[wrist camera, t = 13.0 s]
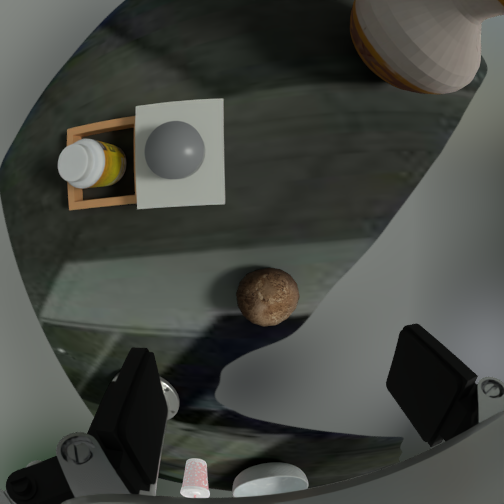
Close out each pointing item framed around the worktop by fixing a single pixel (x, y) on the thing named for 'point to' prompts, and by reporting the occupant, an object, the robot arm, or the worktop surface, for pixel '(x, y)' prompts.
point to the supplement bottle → (91, 164)
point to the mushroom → (267, 296)
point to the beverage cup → (195, 479)
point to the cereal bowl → (269, 480)
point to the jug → (422, 41)
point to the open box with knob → (167, 155)
